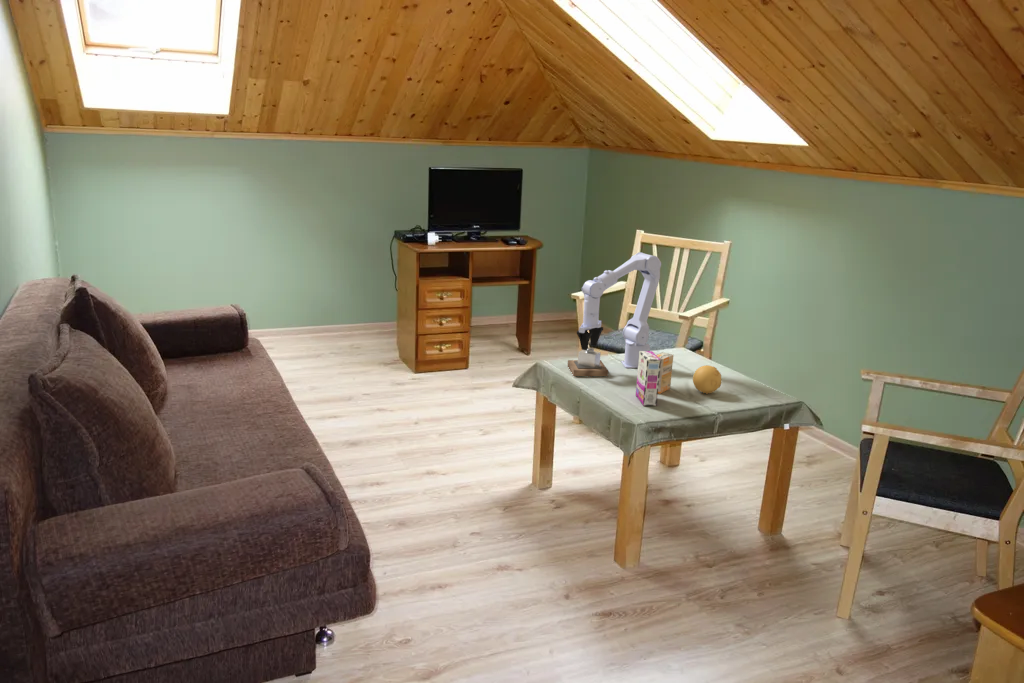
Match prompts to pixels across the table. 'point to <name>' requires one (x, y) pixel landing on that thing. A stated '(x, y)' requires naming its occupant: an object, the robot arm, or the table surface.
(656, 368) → the candy bar box
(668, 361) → the supplement box
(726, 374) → the table surface
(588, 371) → the stand
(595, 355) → the housing
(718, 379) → the stress ball
